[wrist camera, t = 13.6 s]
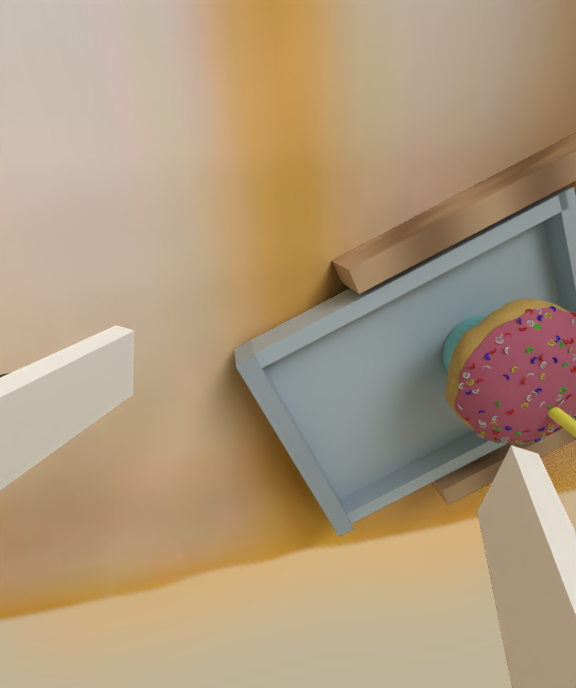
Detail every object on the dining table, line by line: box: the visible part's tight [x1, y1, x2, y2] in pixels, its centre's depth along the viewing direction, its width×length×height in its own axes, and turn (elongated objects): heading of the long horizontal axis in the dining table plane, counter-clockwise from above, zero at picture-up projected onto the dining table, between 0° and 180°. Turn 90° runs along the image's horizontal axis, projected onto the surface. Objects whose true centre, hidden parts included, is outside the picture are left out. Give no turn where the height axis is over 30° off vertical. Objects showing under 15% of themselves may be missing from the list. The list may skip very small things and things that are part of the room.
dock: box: [332, 133, 576, 505], centre depth 26 cm, size 24×19×4 cm
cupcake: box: [443, 298, 576, 445], centre depth 21 cm, size 9×8×12 cm
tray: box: [234, 187, 576, 537], centre depth 26 cm, size 22×15×3 cm
